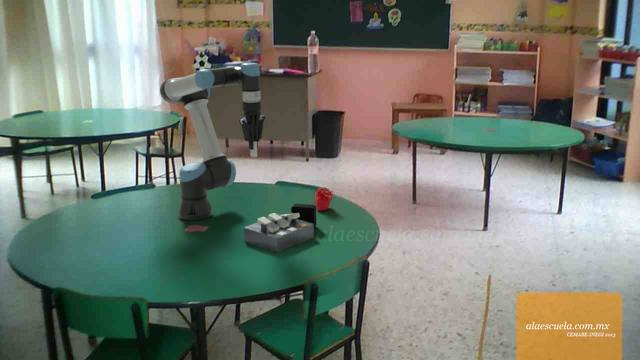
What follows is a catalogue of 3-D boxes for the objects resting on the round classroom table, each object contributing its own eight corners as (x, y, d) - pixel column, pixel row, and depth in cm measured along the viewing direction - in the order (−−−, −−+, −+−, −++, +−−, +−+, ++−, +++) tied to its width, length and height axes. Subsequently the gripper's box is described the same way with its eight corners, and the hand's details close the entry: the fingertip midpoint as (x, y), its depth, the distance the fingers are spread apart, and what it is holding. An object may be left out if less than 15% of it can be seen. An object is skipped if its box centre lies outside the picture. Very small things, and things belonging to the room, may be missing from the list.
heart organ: (331, 204, 299) (331, 180, 295) (336, 212, 288) (336, 187, 284) (310, 205, 297) (310, 181, 294) (315, 213, 286) (314, 188, 283)
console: (244, 241, 254) (243, 220, 252) (280, 227, 269) (280, 207, 267) (277, 252, 242) (276, 231, 240) (313, 237, 257) (313, 216, 255)
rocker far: (279, 220, 260) (278, 216, 260) (285, 218, 262) (284, 214, 262) (294, 218, 254) (293, 214, 253) (299, 216, 256) (298, 212, 256)
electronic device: (314, 230, 266) (314, 207, 263) (291, 228, 268) (291, 206, 265) (316, 226, 270) (316, 204, 267) (293, 225, 272) (293, 203, 269)
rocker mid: (267, 218, 255) (268, 214, 254) (273, 216, 258) (274, 212, 257) (283, 228, 250) (283, 224, 250) (289, 226, 253) (289, 222, 252)
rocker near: (257, 222, 251) (257, 218, 250) (263, 219, 253) (263, 216, 253) (272, 232, 246) (273, 228, 245) (278, 230, 248) (279, 226, 248)
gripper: (245, 104, 251) (248, 160, 258) (269, 100, 261) (271, 155, 267) (233, 102, 256) (236, 158, 263) (256, 98, 266) (259, 152, 272)
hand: (253, 156), depth 265 cm, fingers closed
